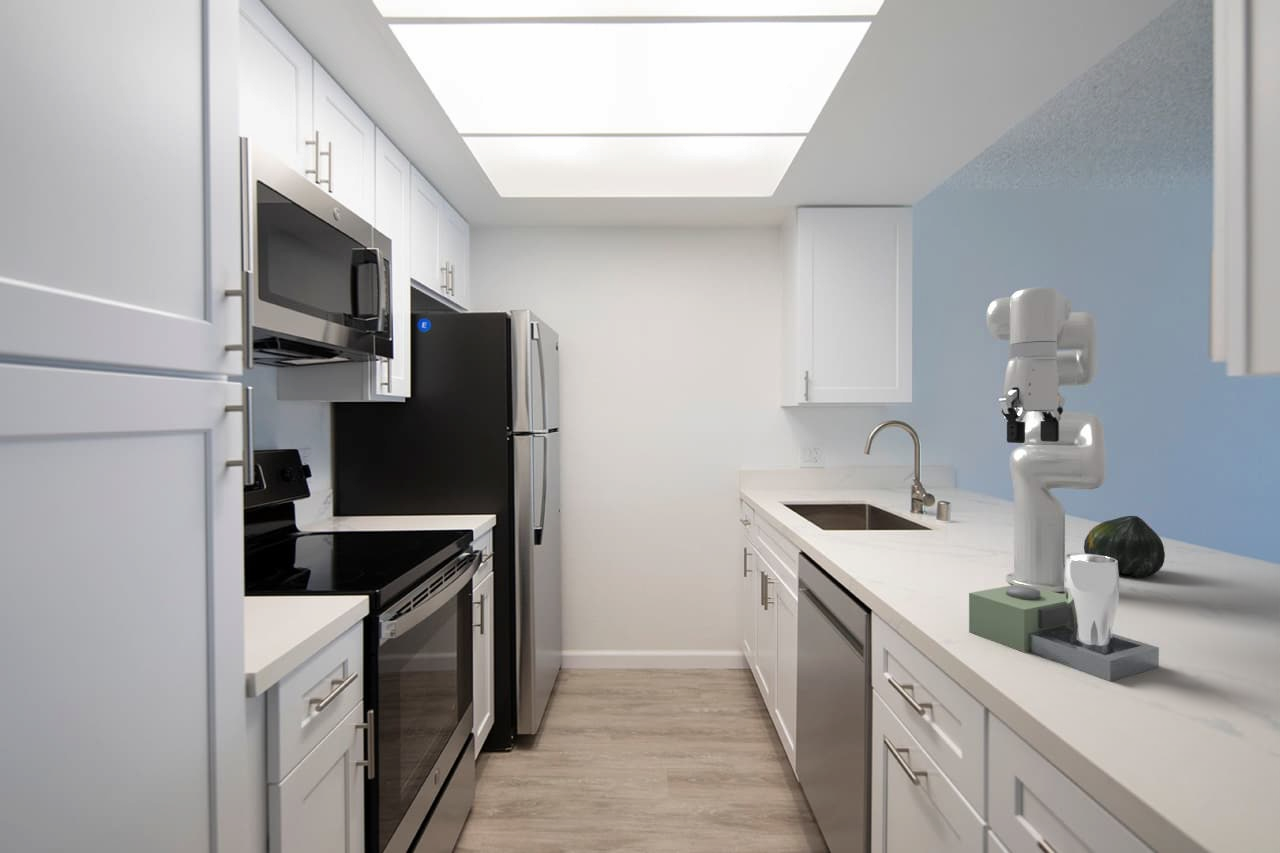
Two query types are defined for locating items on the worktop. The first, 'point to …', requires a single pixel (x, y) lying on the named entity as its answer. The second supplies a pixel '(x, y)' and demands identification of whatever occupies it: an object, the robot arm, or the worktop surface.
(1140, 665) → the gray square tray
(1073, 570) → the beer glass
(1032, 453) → the robot arm
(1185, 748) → the worktop surface
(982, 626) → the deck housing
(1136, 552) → the squash
